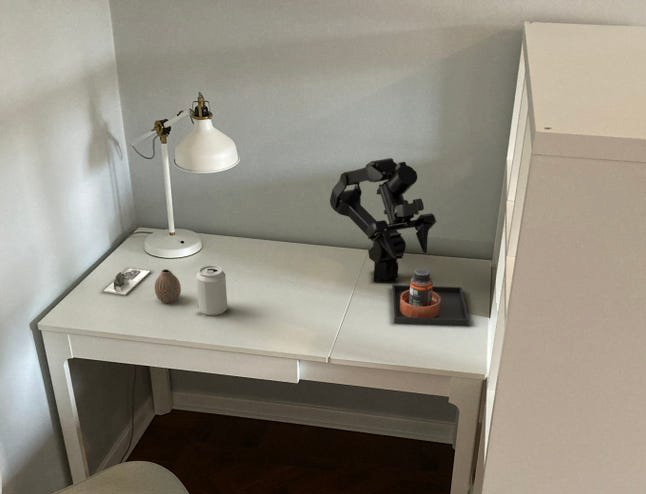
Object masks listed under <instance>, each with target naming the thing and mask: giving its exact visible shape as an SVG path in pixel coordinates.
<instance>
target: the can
mask: <svg viewBox="0 0 646 494" xmlns="http://www.w3.org/2000/svg"><path fill="white" fill-rule="evenodd" d="M226 278H227V277H226V273H225V272H224V270H223V267H221V266H219V265H216V264H215V265H214V264H209V265H203V266H202V267H199V269H198V273H197V274H196V289H197V297H198V298H197V300H198V309H199V312H201V313H203V315H206V316H211V317H212V316H213V317H214V316H219V315H222V314H223V313H224V312H226V311H227V309H228V297H227V295H228V293H227V279H226Z"/></svg>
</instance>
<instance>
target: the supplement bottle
mask: <svg viewBox="0 0 646 494" xmlns="http://www.w3.org/2000/svg"><path fill="white" fill-rule="evenodd" d="M433 286H434V281H433V279H432V278H431V271H430V270H429V269H426V268H417V269H415V271H414V276H413V277H412V278H411V279H410V298H409V304H410V305H413V306H419V307H426V306H431V301H432V289H433Z"/></svg>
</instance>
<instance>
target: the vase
mask: <svg viewBox="0 0 646 494" xmlns="http://www.w3.org/2000/svg"><path fill="white" fill-rule="evenodd" d="M181 285H182V284H181V283H180V280H179V278H178V277H177V276H176V275H175V274H174V273H173V272H172V270H170V268H165V269H162V270H161V272H160V274H159V275H158V277H157V278H156V280H155V282H154V294H155V296H156V297H157V299H158V300H159V301H160V302H161V303H163V304H173V303H175V302H177V301H178V300H179V298H180V296H181V293H182V292H181V291H182V286H181Z"/></svg>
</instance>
